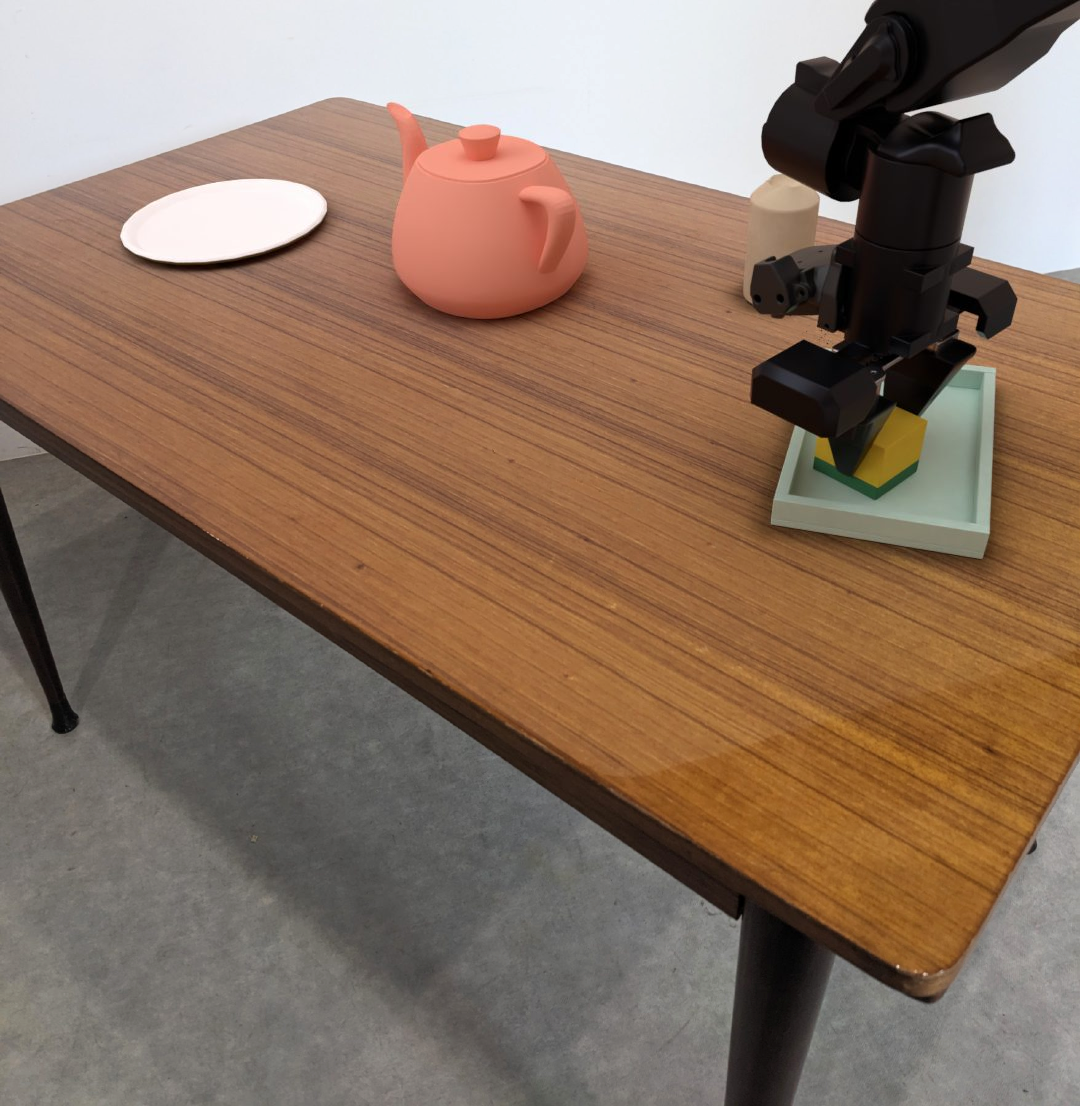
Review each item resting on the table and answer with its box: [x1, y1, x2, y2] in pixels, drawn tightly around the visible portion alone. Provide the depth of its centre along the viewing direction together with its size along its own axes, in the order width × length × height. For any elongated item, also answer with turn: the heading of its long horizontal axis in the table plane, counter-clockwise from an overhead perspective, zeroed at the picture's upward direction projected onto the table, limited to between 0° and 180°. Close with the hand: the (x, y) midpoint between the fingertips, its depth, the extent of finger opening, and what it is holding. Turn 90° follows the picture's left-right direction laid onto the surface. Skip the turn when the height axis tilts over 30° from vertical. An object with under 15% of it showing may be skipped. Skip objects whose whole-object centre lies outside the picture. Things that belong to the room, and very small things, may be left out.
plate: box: [119, 178, 328, 266], centre depth 107 cm, size 21×21×1 cm
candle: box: [742, 173, 821, 305], centre depth 87 cm, size 6×6×10 cm
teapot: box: [386, 101, 590, 320], centre depth 91 cm, size 25×17×13 cm
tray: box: [770, 347, 997, 560], centre depth 71 cm, size 20×13×2 cm, turn 161°
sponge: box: [813, 406, 928, 500], centre depth 68 cm, size 5×4×4 cm
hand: (867, 458), depth 69 cm, fingers closed on sponge, 4 cm apart
